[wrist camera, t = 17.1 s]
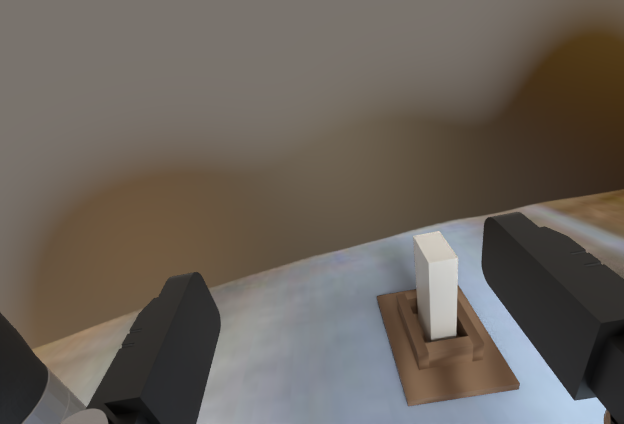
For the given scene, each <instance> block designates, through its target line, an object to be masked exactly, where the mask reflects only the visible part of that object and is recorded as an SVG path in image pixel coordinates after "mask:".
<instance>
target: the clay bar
mask: <svg viewBox="0 0 624 424" xmlns="http://www.w3.org/2000/svg"><path fill="white" fill-rule="evenodd" d="M413 240H414V256H415V273H416V290H417V307H418V320H419V322H420V325H421V327H422V329H423V332H424V334H425V336H426V339H427V341H428V343H429V342H435V341H441V340H447V339H454V338H456V326H457V286H458V257H457V255H456V254H455V253H454V251H453V250H452V248H451V247H450V245H449V244H448V243H447V241H446V240H445V238H444V237H443V236H442V234H441V233H440V231H437V232H432V233H426V234H421V235H416V236H413Z"/></svg>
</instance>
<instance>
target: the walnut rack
mask: <svg viewBox="0 0 624 424" xmlns="http://www.w3.org/2000/svg"><path fill="white" fill-rule="evenodd" d="M377 300H378V304H379V307H380V311H381V314H382V318H383V321H384V325H385V328H386V331H387V335H388V338H389V342H390V345H391V348H392V352H393V355H394V359H395V362H396V366H397V369H398V372H399V376H400V379H401V383H402V386H403V389H404V393H405V396H406V400H407V403H408V406H413V405H419V404H426V403H432V402H439V401H445V400H452V399H458V398H465V397H471V396H478V395H484V394H491V393H497V392H504V391H510V390H517V389H519V385H520V383H519V382H518V380H517V378H516V377H515V375H514V374H513V372H512V370H511V369H510V367H509V366H508V364H507V362H506V361H505V359H504V358H503V356H502V354H501V353H500V351H499V350H498V348H497V346H496V345H495V343H494V342H493V340H492V338H491V337H490V335H489V334H488V332H487V330H486V329H485V327H484V326H483V324H482V322H481V321H480V319H479V318H478V316H477V314H476V313H475V311H474V310H473V308H472V306H471V305H470V303H469V302H468V300H467V298H466V297H465V295H464V294H463V292H462V290H461V289H460V287H459V286H457V326H456V338H454V339H447V340H441V341H435V342H429V343H428V341H427V339H426V336H425V334H424V332H423V329H422V327H421V325H420V322H419V320H418V307H417V290H416V289H414V290H409V291H403V292H397V293H392V294H386V295H380V296H377Z"/></svg>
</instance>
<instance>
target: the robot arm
mask: <svg viewBox="0 0 624 424" xmlns="http://www.w3.org/2000/svg"><path fill="white" fill-rule="evenodd" d="M482 270H483V274H484V277H485V279H486V281H487V283H488V285H489V286H490V287H491V289H492V290H493V292H494V293H495V294H496V296H497V297H498V298H499V300H500V301H501V302H502V304H503V305H504V306H505V308H506V309H507V310H508V312H509V313H510V314H511V316H512V317H513V318H514V320H515V321H516V322H517V324H518V325H519V327H520V328H521V329H522V331H523V332H524V333H525V335H526V336H527V337H528V339H529V340H530V341H531V343H532V344H533V345H534V347H535V348H536V349H537V351H538V352H539V353H540V355H541V356H542V357H543V359H544V360H545V362H546V363H547V364H548V366H549V367H550V368H551V370H552V371H553V372H554V374H555V375H556V376H557V378H558V379H559V380H560V382H561V383H562V384H563V386H564V387H565V388H566V390H567V391H568V392H569V394H570V395H571V397H572V398H573V399H574V400H581V399H588V398H594V397H597V398H598V399H599V400H600V402H601V403H602V404H603V405H604V407H605V408H606V411H605V414H604V424H624V279H623V278H621V277H620V276H619V275H617V274H616V273H615V272H614V271H612V270H611V269H610V268H608V267H607V266H606V265H602V264H601V261H599V260H598V259H597V258H595V257H594V256H593V255H592V254H590V253H586V250H585V249H584V248H582V247H581V246H580V245H579V244H577V243H576V242H575V241H573V240H572V239H571V238H569V237H568V236H566V235H564V234H561V233H559V232H557V231H554V230H552V229H550V228H547V227H540V228H539V227H538V226H537V225H535V224H534V223H533V222H532V221H531V220H529V219H528V218H527V217H526V216H525V215H523V214H522V213H520V212H514V213H509V214H504V215H499V216H493V217H488V218H487V219H486V220H485V223H484V233H483V247H482ZM220 326H221V321H220V314H219V311H218V308H217V306H216V304H215V302H214V300H213V298H212V296H211V294H210V292H209V290H208V288H207V286H206V284H205V281H204V279H203V278H202V276H201V275H200V274H199V273H198V272H194V273H189V274H183V275H178V276H173V277H170V278H169V279H168V280H167V281H166V283H165V285H164V287H163V289H162V291H161V293H160V295H159V297H158V298H154V299H153V300H152V301H151V302H150V303H149V304H148V305H147V306H146V307H145V308H144V309H143V310H142V311H141V312H140V313H139V315H138V316H137V318H136V320H135V322H134V324H133V325H132V327H131V329H130V334H127V336H126V338H125V340H124V342H123V343H122V348H121V349H119V350H118V352H117V354H116V356H115V358H114V359H113V361H112V363H111V365H110V367H109V368H108V370H107V372H106V374H105V376H104V377H103V379H102V381H101V383H100V385H99V386H98V388H97V390H96V392H95V394H94V395H93V397H92V399H91V401H90V403H89V404H88V406H87V407H86V406H85V405H84V404H83V403H82V402H81V401H80V400H79V399H78V398H77V397H76V396H75V395H74V394H73V393H72V392H71V391H70V390H69V389H68V388H67V387H66V386H65V385H64V384H63V383H62V382H61V381H60V380H59V379H58V378H57V377H56V376H55V375H54V374H53V373H52V372H51V371H50V370H49V369H48V368H47V367H46V366H45V365H44V364H43V363H42V362H41V361H40V359H39V358H38V357H37V356H36V355H35V354H34V352H33V351H32V350H31V348H30V347H29V346H28V345H27V343H26V342H25V340H24V339H23V337H22V336H21V335H20V334H19V333H18V331H17V330H16V329H15V328H14V327H13V326H12V325H11V324H10V323H9V321H8V320H7V319H6V318H5V317H4V316H3V315H2V314H1V313H0V424H196V422H197V419H198V415H199V411H200V407H201V403H202V399H203V395H204V391H205V387H206V384H207V380H208V376H209V372H210V368H211V364H212V360H213V356H214V352H215V348H216V345H217V341H218V337H219V333H220Z"/></svg>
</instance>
